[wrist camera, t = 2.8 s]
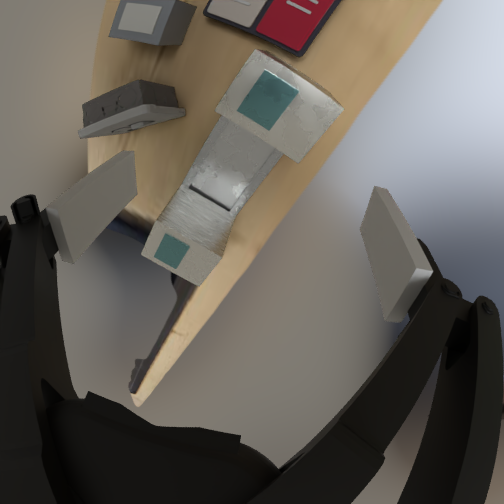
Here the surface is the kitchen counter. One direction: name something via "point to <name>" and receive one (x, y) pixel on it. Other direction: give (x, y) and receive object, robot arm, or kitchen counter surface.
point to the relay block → (152, 21)
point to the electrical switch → (129, 109)
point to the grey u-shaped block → (239, 161)
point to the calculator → (276, 19)
